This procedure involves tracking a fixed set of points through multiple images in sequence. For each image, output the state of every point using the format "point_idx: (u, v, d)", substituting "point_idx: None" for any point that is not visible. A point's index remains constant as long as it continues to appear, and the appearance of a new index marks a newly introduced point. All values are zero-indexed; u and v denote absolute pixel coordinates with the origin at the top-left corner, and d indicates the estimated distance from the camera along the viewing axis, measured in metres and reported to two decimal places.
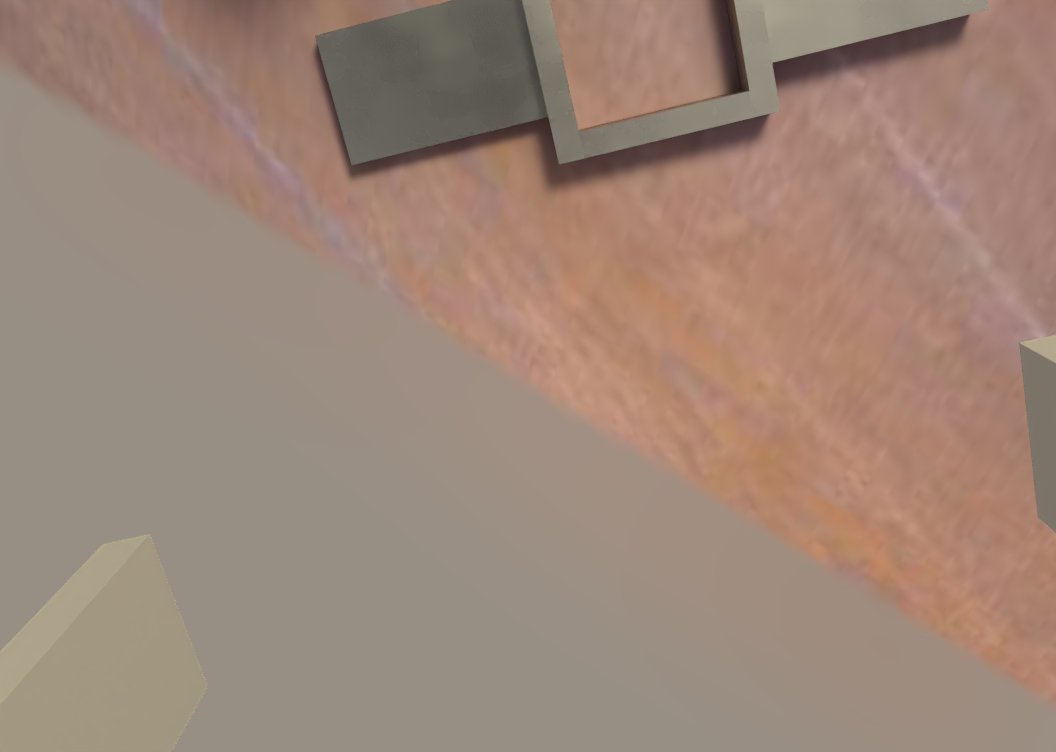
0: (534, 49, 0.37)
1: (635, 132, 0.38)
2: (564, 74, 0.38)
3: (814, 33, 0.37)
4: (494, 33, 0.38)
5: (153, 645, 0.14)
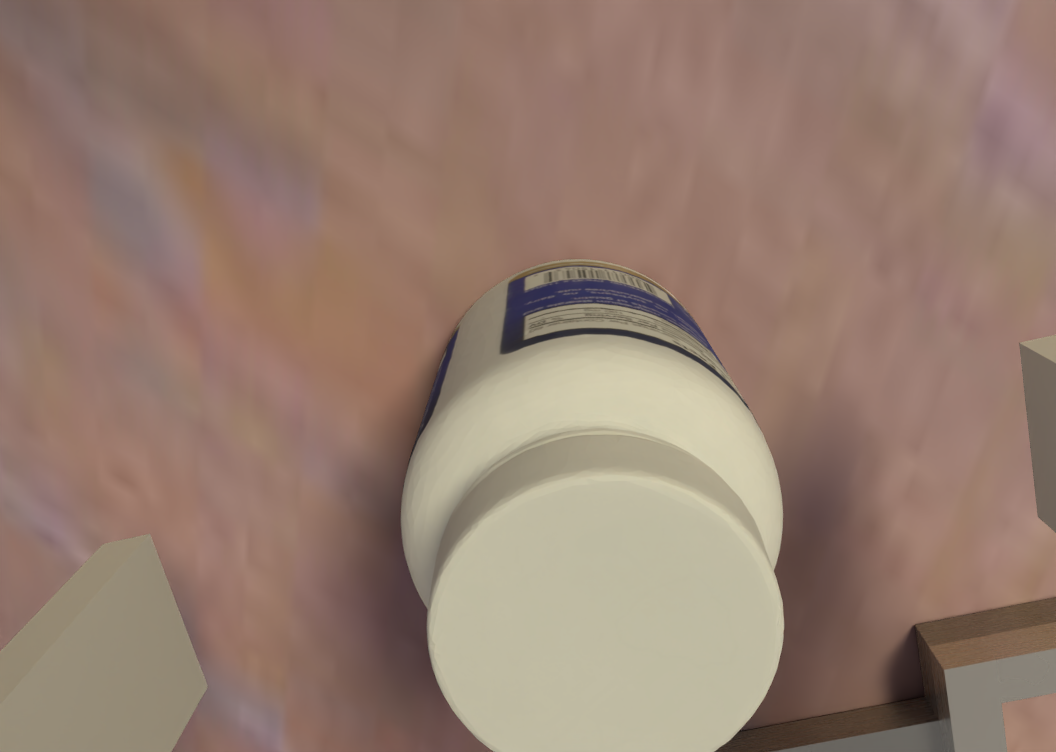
0: None
1: None
2: None
3: None
4: None
5: (153, 645, 0.14)
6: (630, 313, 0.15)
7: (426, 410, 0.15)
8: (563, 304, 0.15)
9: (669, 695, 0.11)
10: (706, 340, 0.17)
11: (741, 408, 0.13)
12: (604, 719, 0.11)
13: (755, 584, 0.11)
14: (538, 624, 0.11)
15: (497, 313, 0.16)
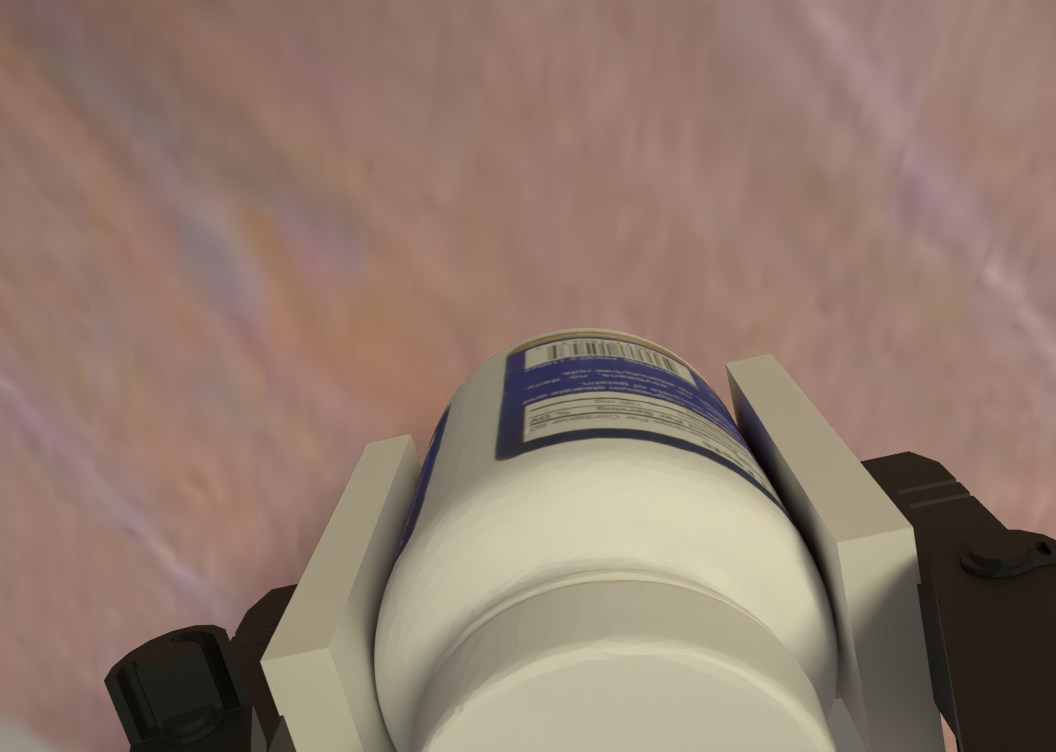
0: None
1: None
2: None
3: None
4: None
5: None
6: (650, 404, 0.12)
7: (408, 518, 0.13)
8: (570, 392, 0.13)
9: None
10: (736, 427, 0.14)
11: (788, 530, 0.11)
12: None
13: None
14: None
15: (493, 397, 0.14)
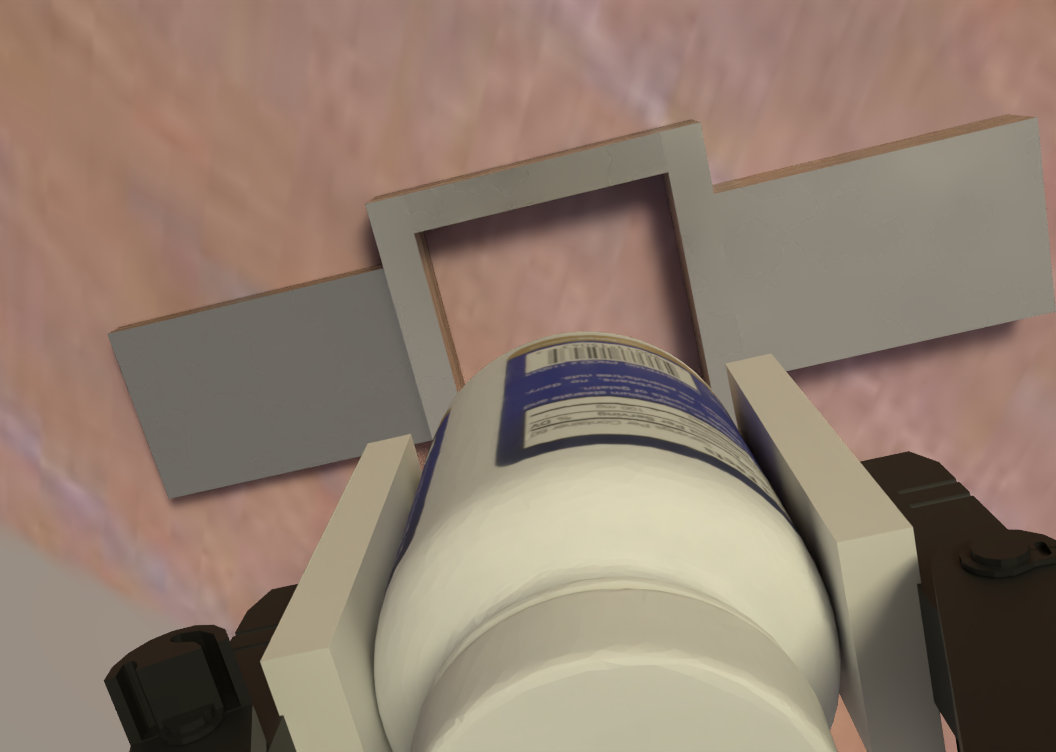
0: (412, 361, 0.26)
1: None
2: (455, 393, 0.27)
3: (807, 341, 0.26)
4: (358, 331, 0.27)
5: None
6: (651, 410, 0.12)
7: (408, 523, 0.12)
8: (571, 397, 0.13)
9: None
10: (738, 432, 0.14)
11: (791, 536, 0.11)
12: None
13: None
14: None
15: (493, 402, 0.14)
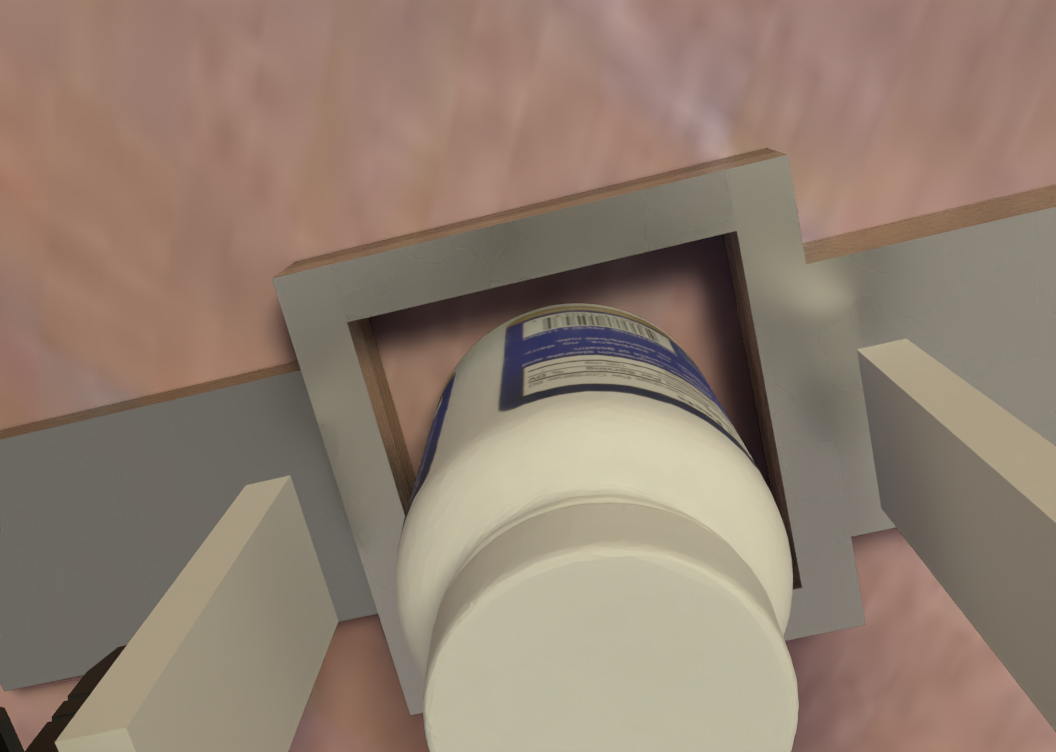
0: (348, 508, 0.18)
1: None
2: None
3: None
4: (271, 460, 0.18)
5: (299, 576, 0.15)
6: (633, 366, 0.14)
7: (422, 465, 0.14)
8: (563, 355, 0.14)
9: None
10: (710, 389, 0.16)
11: (749, 468, 0.13)
12: None
13: (768, 663, 0.10)
14: (541, 705, 0.10)
15: (495, 362, 0.16)
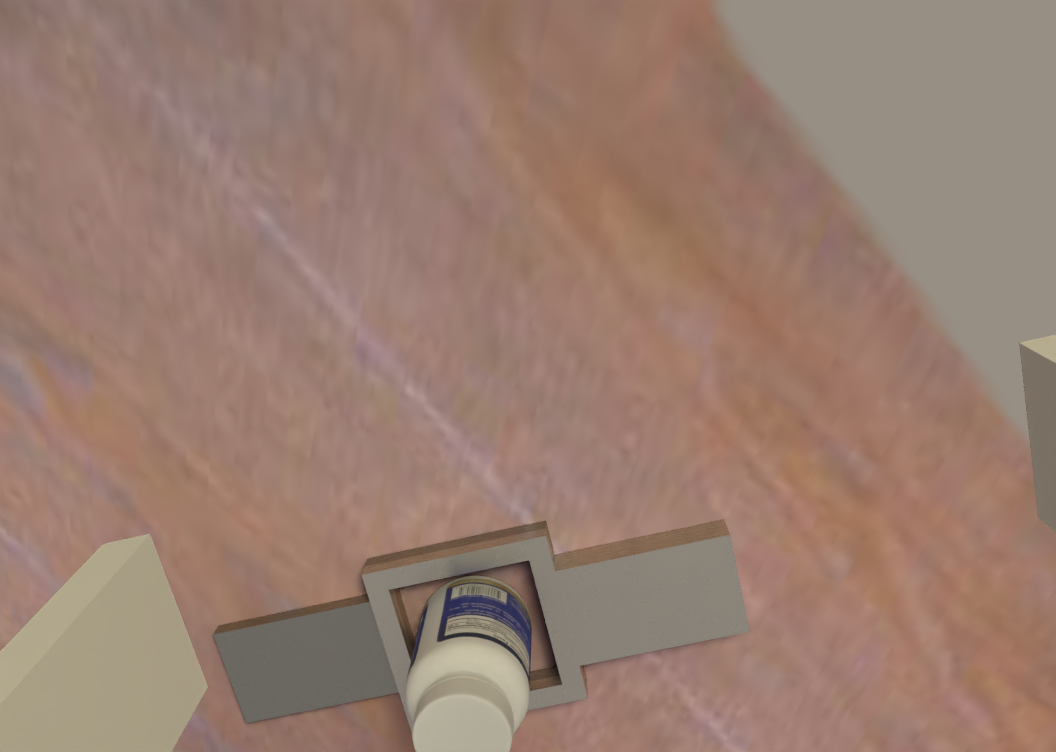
0: (388, 654, 0.46)
1: None
2: None
3: (611, 646, 0.46)
4: (357, 634, 0.47)
5: (153, 645, 0.14)
6: (482, 620, 0.43)
7: (414, 652, 0.43)
8: (461, 614, 0.43)
9: None
10: (517, 617, 0.45)
11: (512, 660, 0.41)
12: None
13: (502, 723, 0.39)
14: (443, 734, 0.39)
15: (440, 610, 0.44)
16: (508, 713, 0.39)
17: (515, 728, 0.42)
